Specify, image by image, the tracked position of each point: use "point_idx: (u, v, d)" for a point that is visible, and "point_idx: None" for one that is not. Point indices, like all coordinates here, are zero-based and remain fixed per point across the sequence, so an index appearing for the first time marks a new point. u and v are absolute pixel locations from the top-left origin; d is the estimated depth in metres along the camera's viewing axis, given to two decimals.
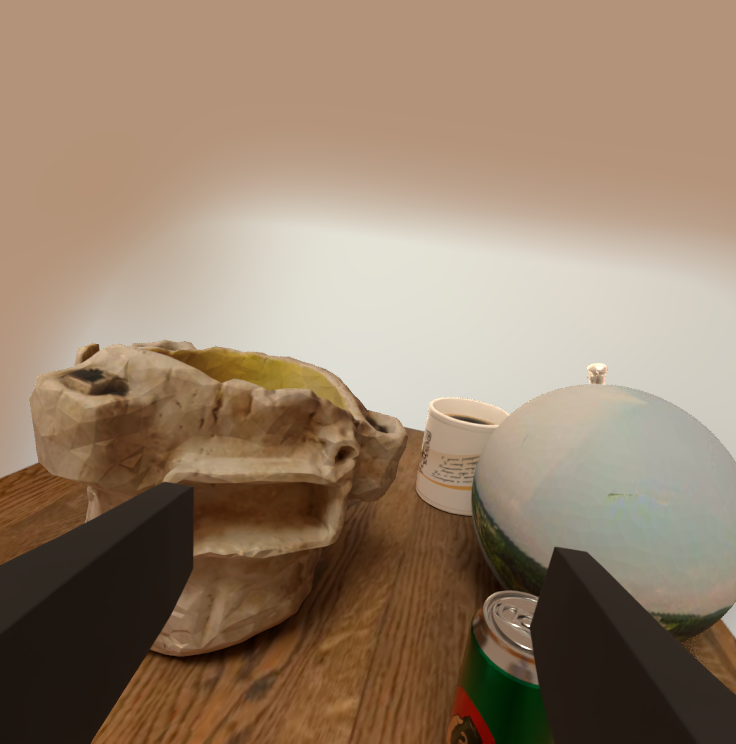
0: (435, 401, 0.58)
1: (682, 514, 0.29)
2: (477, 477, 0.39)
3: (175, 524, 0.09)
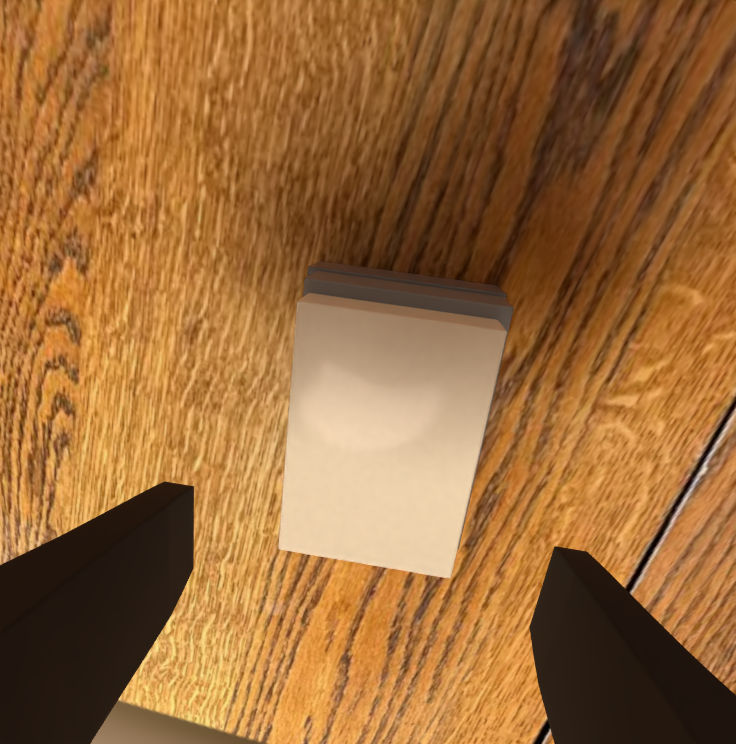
0: None
1: None
2: None
3: (175, 524, 0.09)
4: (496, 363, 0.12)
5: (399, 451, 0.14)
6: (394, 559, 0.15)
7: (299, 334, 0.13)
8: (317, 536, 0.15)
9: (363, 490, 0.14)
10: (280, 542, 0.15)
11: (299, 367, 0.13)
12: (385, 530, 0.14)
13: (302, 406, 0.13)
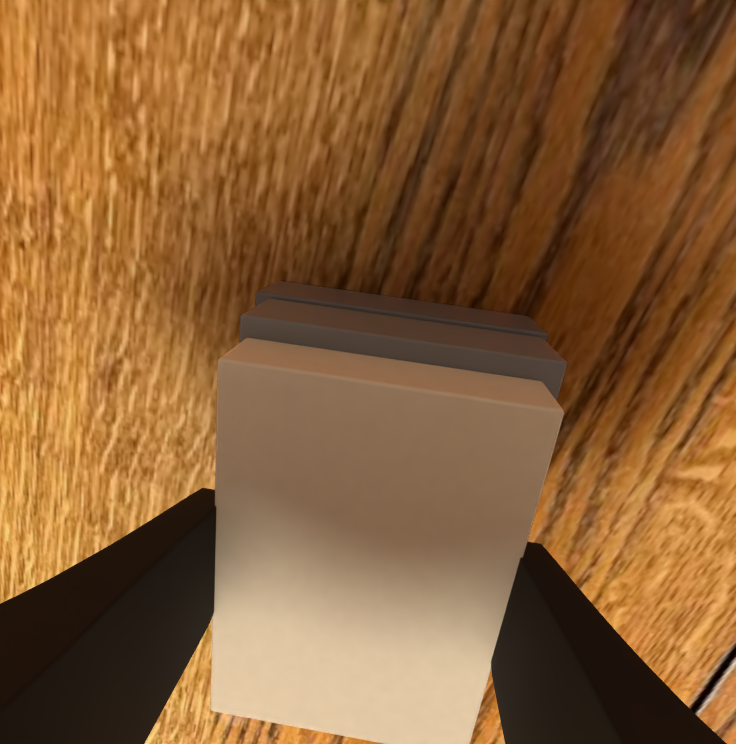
0: None
1: None
2: None
3: None
4: (546, 461, 0.08)
5: (387, 586, 0.09)
6: (381, 731, 0.10)
7: (224, 410, 0.08)
8: (266, 696, 0.10)
9: (333, 638, 0.09)
10: (212, 702, 0.10)
11: (227, 461, 0.08)
12: (367, 693, 0.10)
13: (234, 518, 0.08)
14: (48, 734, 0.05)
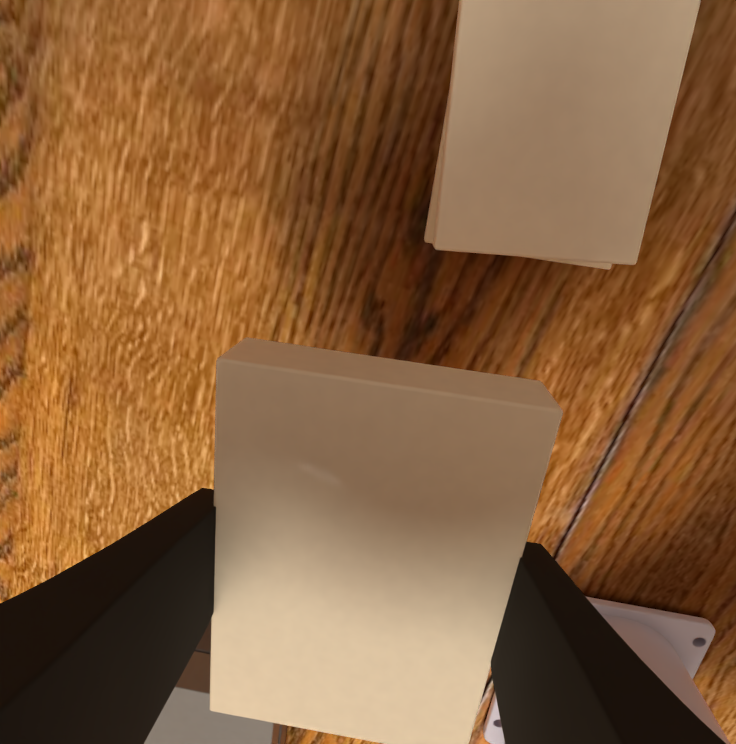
0: None
1: None
2: None
3: None
4: (544, 461, 0.08)
5: (386, 586, 0.09)
6: (381, 731, 0.10)
7: (223, 410, 0.08)
8: (265, 696, 0.10)
9: (333, 638, 0.09)
10: (211, 702, 0.10)
11: (226, 460, 0.08)
12: (366, 692, 0.10)
13: (233, 518, 0.08)
14: (48, 734, 0.05)
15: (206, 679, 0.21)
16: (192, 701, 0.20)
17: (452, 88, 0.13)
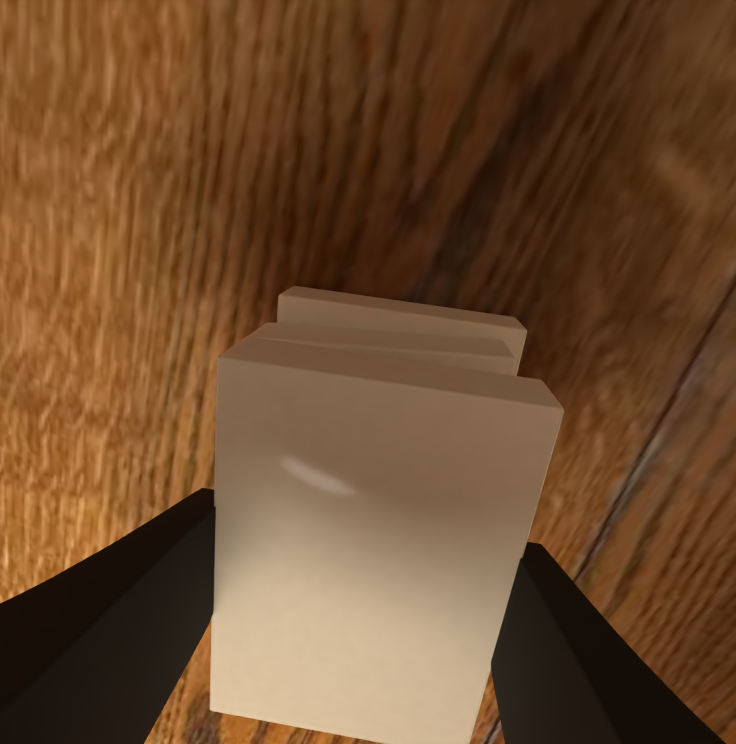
0: None
1: None
2: None
3: None
4: (545, 460, 0.08)
5: (387, 585, 0.09)
6: (381, 730, 0.10)
7: (223, 409, 0.08)
8: (266, 696, 0.10)
9: (333, 638, 0.09)
10: (211, 702, 0.10)
11: (226, 459, 0.08)
12: (367, 692, 0.10)
13: (234, 517, 0.08)
14: (48, 734, 0.05)
15: None
16: None
17: None
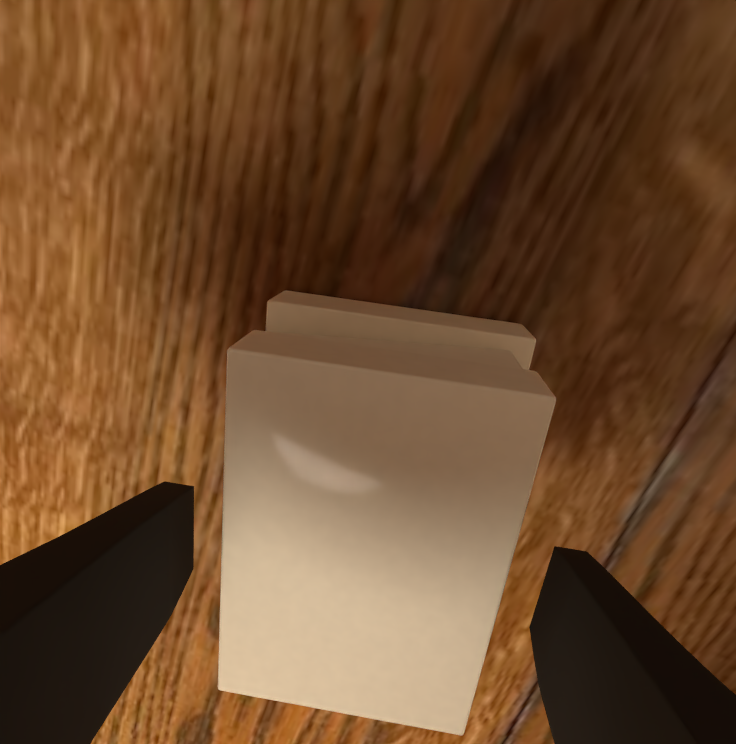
0: None
1: None
2: None
3: (175, 524, 0.09)
4: (539, 447, 0.08)
5: (389, 567, 0.09)
6: (382, 708, 0.10)
7: (233, 398, 0.08)
8: (272, 676, 0.10)
9: (337, 619, 0.10)
10: (220, 682, 0.10)
11: (235, 446, 0.09)
12: (369, 671, 0.10)
13: (242, 502, 0.09)
14: None
15: None
16: None
17: None
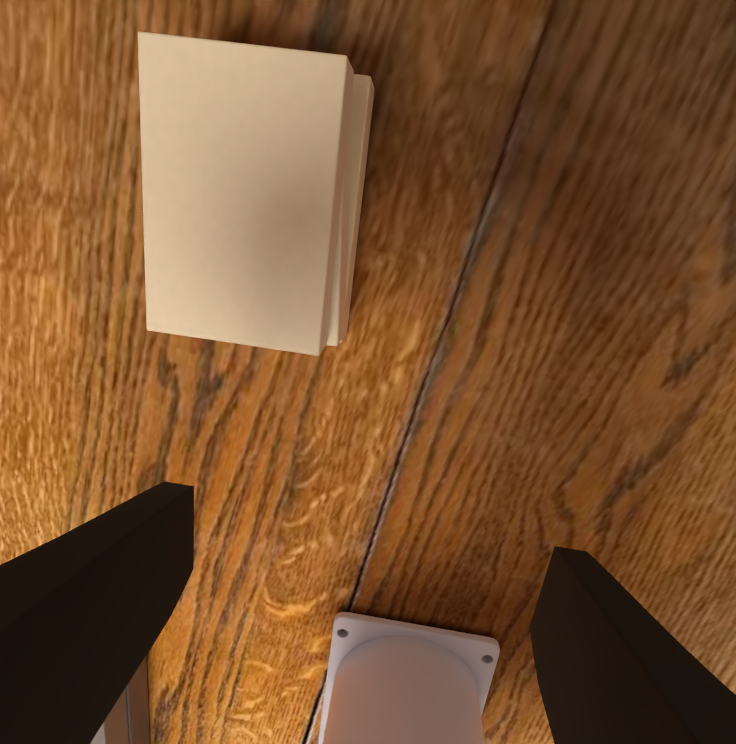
0: None
1: None
2: None
3: (175, 524, 0.09)
4: (340, 95, 0.12)
5: (254, 205, 0.13)
6: (261, 335, 0.15)
7: (143, 70, 0.12)
8: (183, 312, 0.15)
9: (223, 254, 0.14)
10: (147, 321, 0.15)
11: (147, 109, 0.13)
12: (249, 301, 0.14)
13: (154, 156, 0.13)
14: None
15: None
16: None
17: None
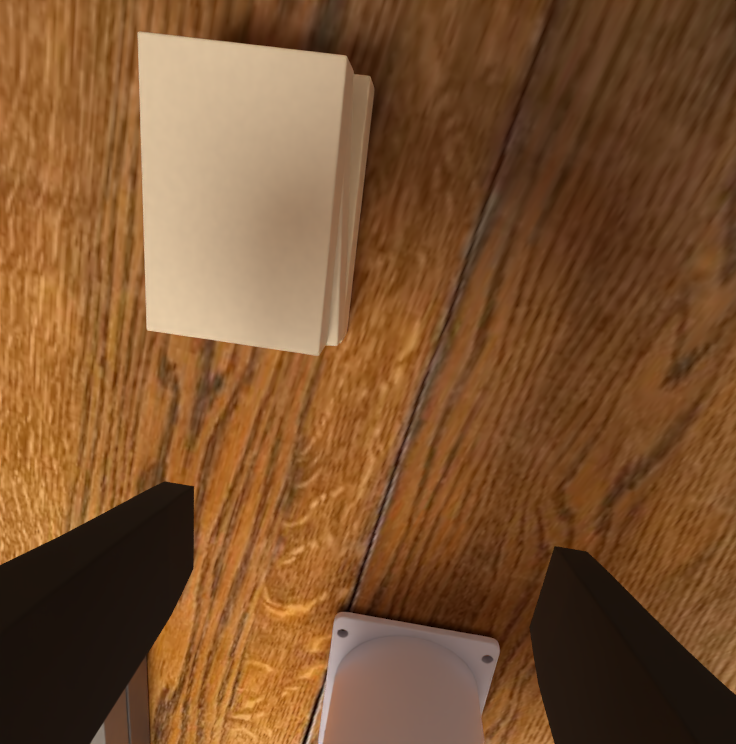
0: None
1: None
2: None
3: (175, 524, 0.09)
4: (340, 95, 0.12)
5: (254, 205, 0.13)
6: (261, 335, 0.15)
7: (143, 71, 0.13)
8: (183, 312, 0.15)
9: (223, 254, 0.14)
10: (147, 321, 0.15)
11: (147, 110, 0.13)
12: (249, 301, 0.14)
13: (154, 157, 0.13)
14: None
15: None
16: None
17: None
